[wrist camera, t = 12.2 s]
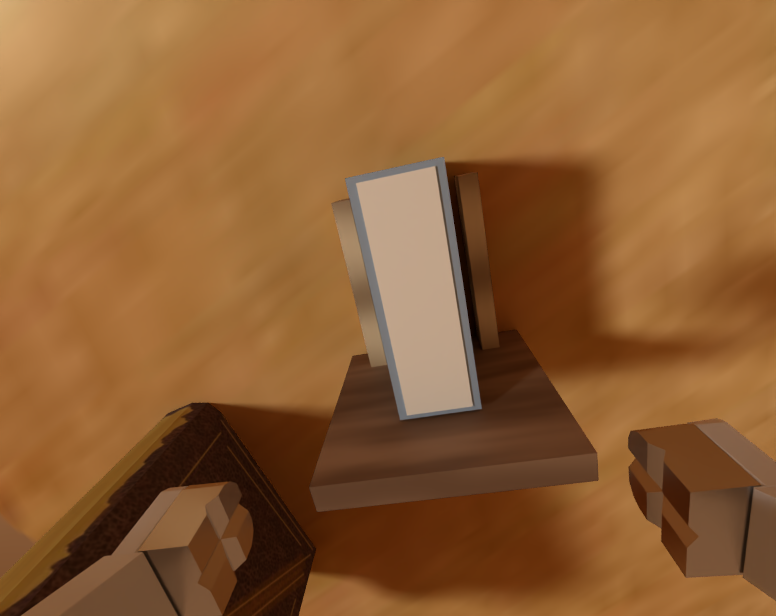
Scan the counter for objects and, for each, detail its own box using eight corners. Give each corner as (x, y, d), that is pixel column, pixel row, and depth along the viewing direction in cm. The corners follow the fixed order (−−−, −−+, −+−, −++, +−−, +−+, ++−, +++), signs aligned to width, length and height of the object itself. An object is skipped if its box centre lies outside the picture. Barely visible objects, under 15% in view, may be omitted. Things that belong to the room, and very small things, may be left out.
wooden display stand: (314, 205, 28) (225, 235, 15) (498, 166, 26) (584, 161, 13) (356, 372, 32) (317, 512, 19) (518, 347, 31) (598, 480, 17)
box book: (368, 176, 27) (344, 178, 18) (433, 162, 27) (444, 156, 17) (404, 345, 31) (400, 421, 22) (460, 336, 31) (481, 409, 21)
